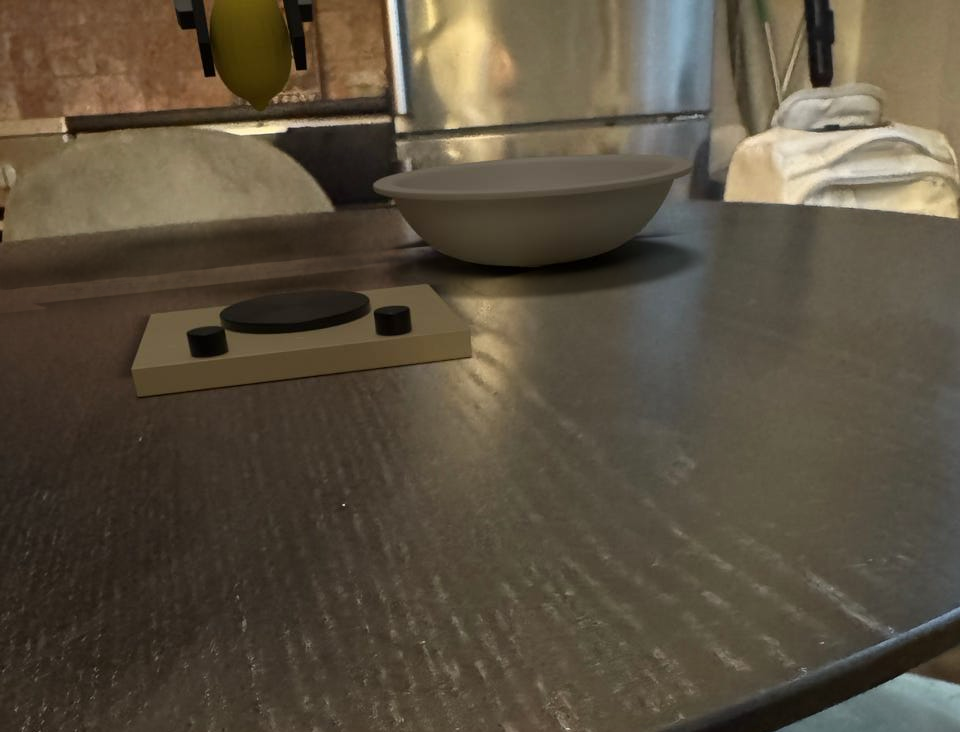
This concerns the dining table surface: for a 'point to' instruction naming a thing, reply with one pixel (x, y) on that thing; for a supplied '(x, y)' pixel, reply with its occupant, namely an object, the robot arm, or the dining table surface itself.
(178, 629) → the dining table surface
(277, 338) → the cooktop
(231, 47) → the lemon
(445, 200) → the soup bowl
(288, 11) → the robot arm
